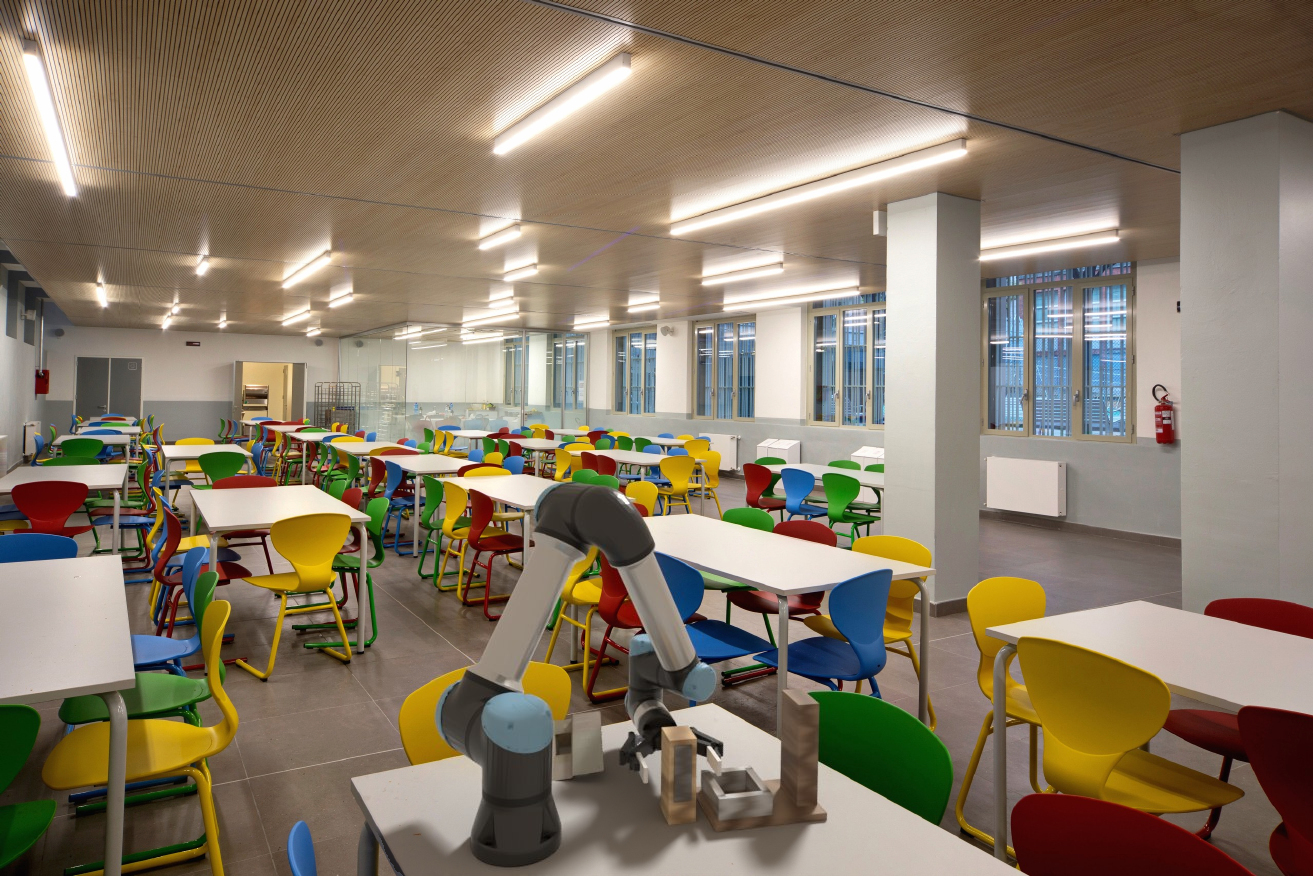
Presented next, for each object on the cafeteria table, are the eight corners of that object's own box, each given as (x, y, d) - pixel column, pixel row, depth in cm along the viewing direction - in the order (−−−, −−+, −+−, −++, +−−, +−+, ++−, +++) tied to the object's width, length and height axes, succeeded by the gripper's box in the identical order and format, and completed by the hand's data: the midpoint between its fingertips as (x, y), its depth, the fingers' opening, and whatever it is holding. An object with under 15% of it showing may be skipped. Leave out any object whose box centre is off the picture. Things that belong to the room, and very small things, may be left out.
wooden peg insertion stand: (715, 832, 132) (717, 718, 132) (693, 793, 146) (695, 690, 145) (826, 819, 137) (829, 709, 137) (795, 783, 151) (797, 683, 150)
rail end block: (668, 825, 134) (670, 741, 134) (660, 808, 140) (661, 727, 140) (696, 822, 135) (697, 739, 135) (686, 805, 141) (687, 725, 141)
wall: (611, 789, 155) (607, 720, 166) (605, 771, 150) (601, 700, 161) (531, 801, 155) (532, 731, 166) (522, 783, 149) (524, 712, 160)
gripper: (713, 738, 159) (748, 786, 138) (595, 749, 153) (613, 800, 133) (713, 703, 159) (749, 745, 138) (595, 712, 153) (614, 757, 132)
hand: (683, 772), depth 135 cm, fingers open, 13 cm apart
